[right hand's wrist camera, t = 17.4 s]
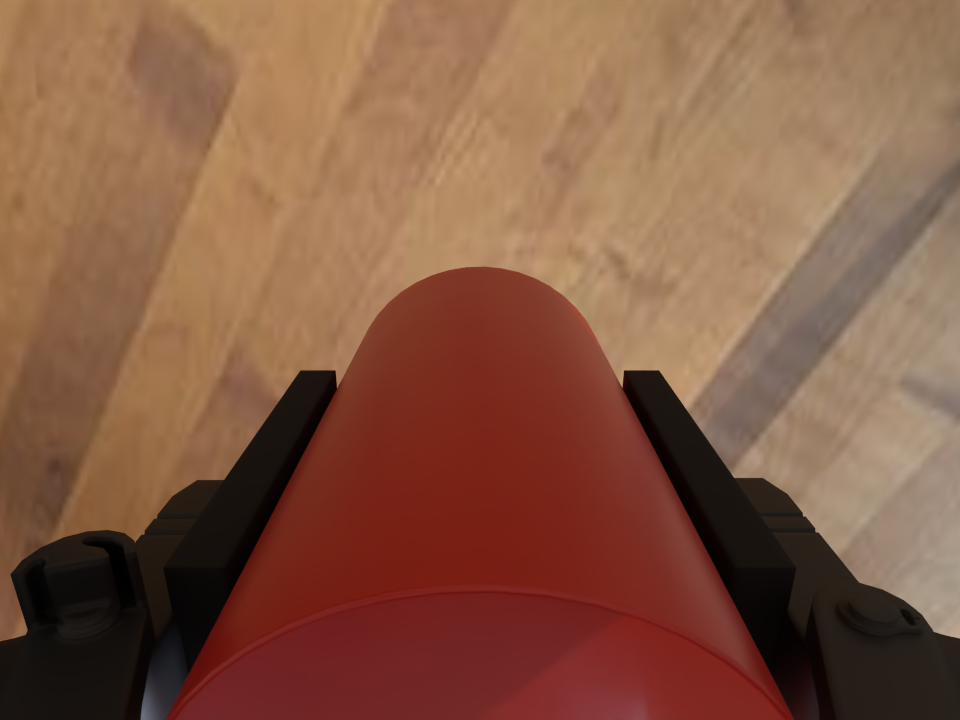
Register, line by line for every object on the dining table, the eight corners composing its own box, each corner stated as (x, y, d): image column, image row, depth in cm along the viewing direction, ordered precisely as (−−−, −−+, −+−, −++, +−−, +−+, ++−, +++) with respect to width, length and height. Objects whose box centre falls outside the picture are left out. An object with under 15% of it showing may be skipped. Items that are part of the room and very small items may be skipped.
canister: (623, 471, 17) (839, 1010, 7) (393, 517, 18) (271, 1086, 7) (581, 238, 15) (806, 514, 5) (320, 299, 15) (2, 670, 5)
